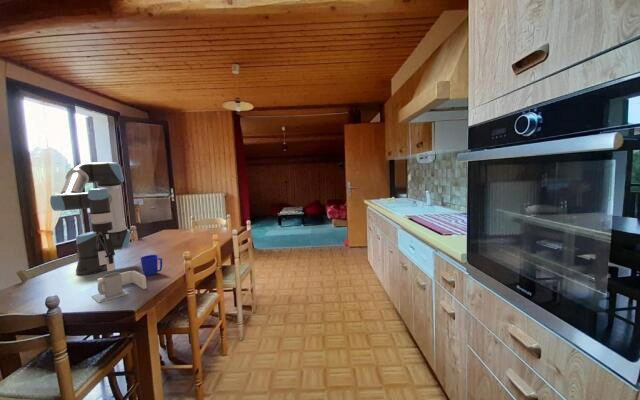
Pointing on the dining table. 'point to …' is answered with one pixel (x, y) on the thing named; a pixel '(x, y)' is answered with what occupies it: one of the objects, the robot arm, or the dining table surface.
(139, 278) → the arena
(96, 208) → the robot arm
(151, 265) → the mug
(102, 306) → the dining table surface
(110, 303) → the dining table surface
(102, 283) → the cup
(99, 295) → the pad
